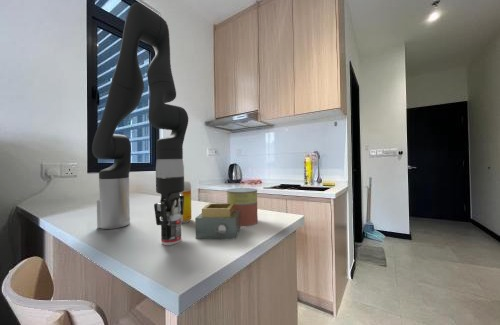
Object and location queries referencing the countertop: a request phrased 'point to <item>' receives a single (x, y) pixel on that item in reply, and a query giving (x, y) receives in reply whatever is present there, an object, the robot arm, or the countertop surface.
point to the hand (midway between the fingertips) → (171, 234)
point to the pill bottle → (173, 229)
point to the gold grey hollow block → (218, 221)
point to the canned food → (244, 204)
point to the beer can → (186, 202)
